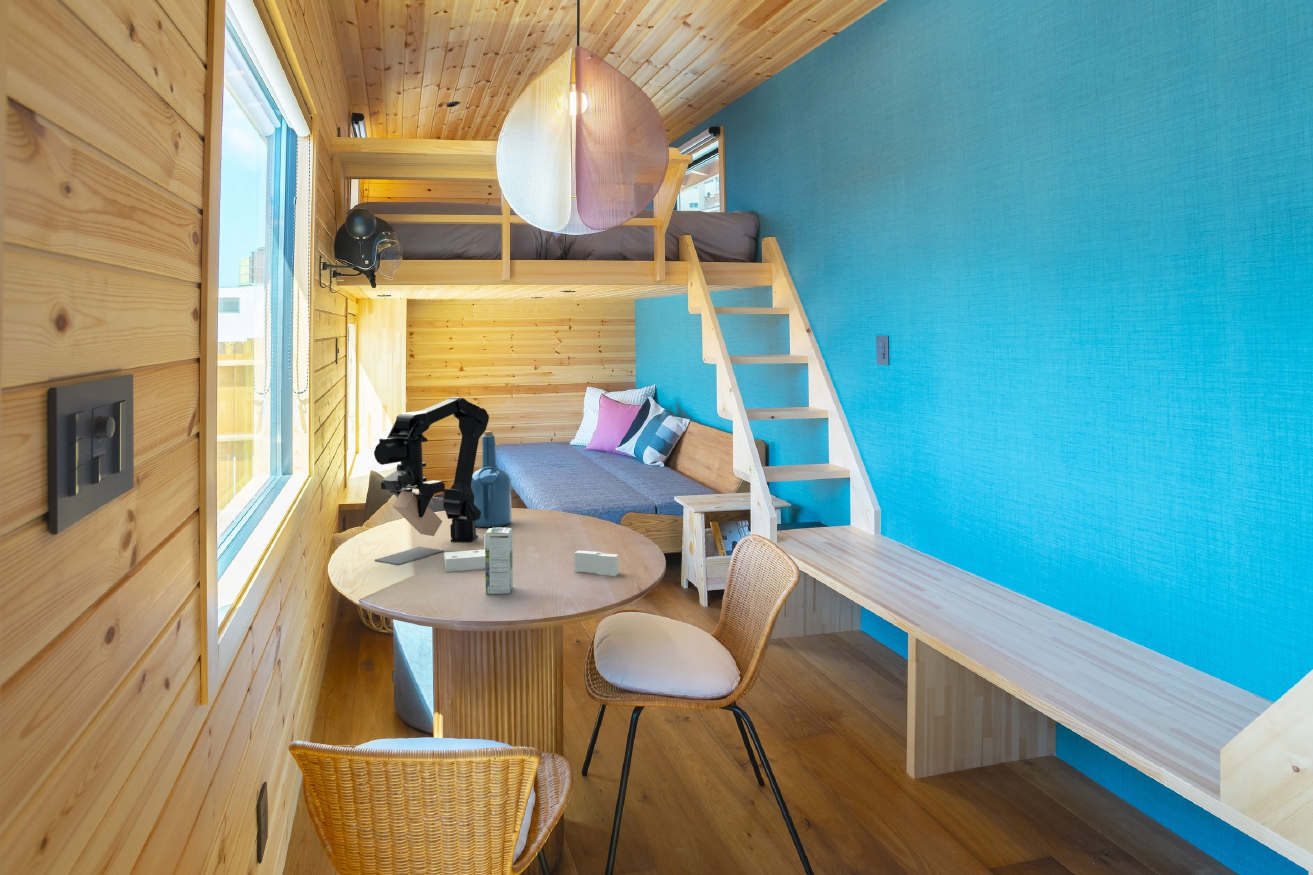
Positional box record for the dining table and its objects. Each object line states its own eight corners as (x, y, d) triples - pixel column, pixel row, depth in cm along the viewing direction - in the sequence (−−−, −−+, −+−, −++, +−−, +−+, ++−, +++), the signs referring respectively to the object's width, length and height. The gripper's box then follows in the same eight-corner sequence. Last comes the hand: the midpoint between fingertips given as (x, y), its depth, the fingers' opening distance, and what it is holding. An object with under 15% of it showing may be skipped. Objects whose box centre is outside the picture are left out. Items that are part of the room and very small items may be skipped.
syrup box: (488, 587, 193) (486, 527, 192) (513, 586, 194) (512, 526, 192) (485, 594, 188) (483, 532, 186) (511, 593, 188) (509, 532, 187)
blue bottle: (472, 520, 268) (469, 429, 265) (513, 519, 269) (511, 428, 266) (467, 529, 254) (464, 433, 251) (510, 528, 256) (508, 433, 252)
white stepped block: (563, 571, 208) (562, 550, 208) (601, 564, 215) (601, 543, 214) (593, 585, 196) (592, 562, 195) (632, 578, 202) (632, 555, 202)
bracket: (494, 561, 218) (493, 533, 217) (497, 568, 211) (497, 539, 210) (444, 565, 214) (443, 537, 213) (446, 572, 207) (444, 543, 206)
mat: (419, 547, 232) (419, 546, 232) (443, 551, 227) (443, 550, 227) (374, 560, 218) (374, 559, 218) (398, 565, 213) (398, 563, 213)
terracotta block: (429, 519, 232) (401, 490, 222) (442, 521, 229) (415, 492, 220) (420, 533, 229) (392, 505, 219) (433, 536, 227) (405, 507, 217)
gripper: (363, 461, 219) (366, 518, 221) (414, 466, 210) (416, 525, 212) (395, 456, 229) (398, 511, 230) (445, 460, 219) (447, 517, 221)
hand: (413, 516), depth 223 cm, fingers closed on terracotta block, 5 cm apart
